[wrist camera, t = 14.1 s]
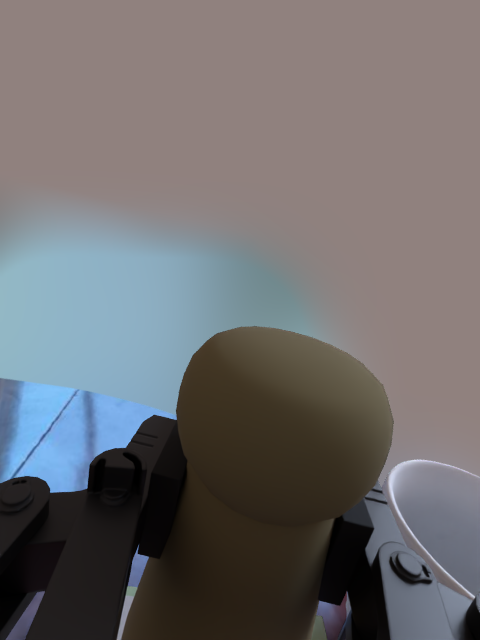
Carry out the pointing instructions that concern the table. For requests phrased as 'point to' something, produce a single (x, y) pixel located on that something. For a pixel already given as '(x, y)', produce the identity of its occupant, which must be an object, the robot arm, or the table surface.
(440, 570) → the mug
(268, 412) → the olive pawn piece
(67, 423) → the table surface
